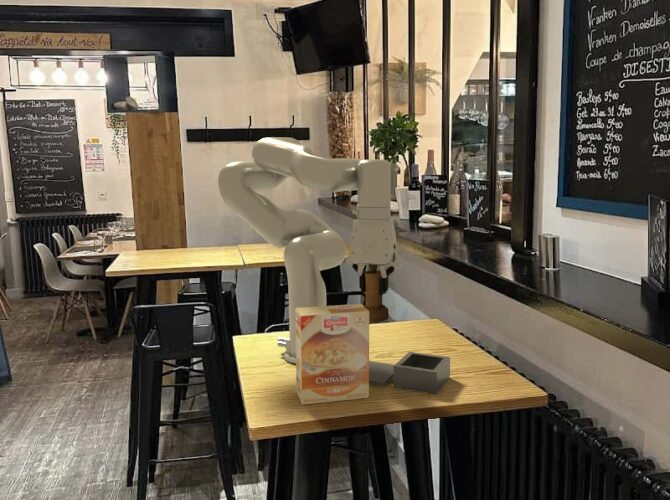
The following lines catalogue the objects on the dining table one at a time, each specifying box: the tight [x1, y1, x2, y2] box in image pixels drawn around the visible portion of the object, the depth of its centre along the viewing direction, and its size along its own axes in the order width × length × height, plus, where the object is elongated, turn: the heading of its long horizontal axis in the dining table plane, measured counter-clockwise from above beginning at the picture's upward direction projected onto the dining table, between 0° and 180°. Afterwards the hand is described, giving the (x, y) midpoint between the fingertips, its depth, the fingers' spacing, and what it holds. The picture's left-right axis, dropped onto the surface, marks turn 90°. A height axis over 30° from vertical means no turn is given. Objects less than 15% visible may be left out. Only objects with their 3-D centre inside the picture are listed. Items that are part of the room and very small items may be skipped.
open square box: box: [392, 351, 451, 395], centre depth 143 cm, size 10×11×5 cm
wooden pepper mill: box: [363, 264, 390, 323], centre depth 145 cm, size 7×6×18 cm
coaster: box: [369, 360, 395, 387], centre depth 148 cm, size 10×12×1 cm
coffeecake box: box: [295, 303, 370, 406], centre depth 135 cm, size 15×7×20 cm, turn 103°
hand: (373, 292), depth 145 cm, fingers closed on wooden pepper mill, 3 cm apart
